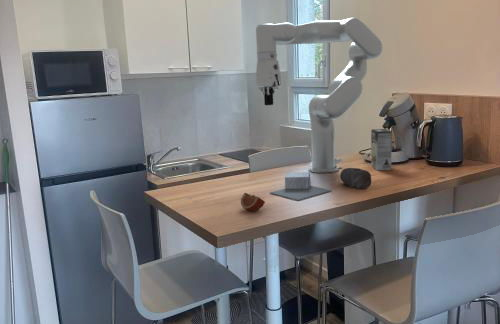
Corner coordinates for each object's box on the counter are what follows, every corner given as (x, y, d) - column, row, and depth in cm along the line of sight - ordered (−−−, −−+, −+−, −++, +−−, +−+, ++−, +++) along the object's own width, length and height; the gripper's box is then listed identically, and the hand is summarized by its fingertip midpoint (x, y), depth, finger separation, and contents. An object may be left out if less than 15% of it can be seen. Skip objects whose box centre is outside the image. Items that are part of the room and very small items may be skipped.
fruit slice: (236, 209, 134) (236, 193, 134) (255, 205, 138) (254, 190, 137) (250, 215, 127) (250, 199, 126) (269, 211, 131) (269, 195, 130)
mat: (302, 184, 160) (302, 183, 160) (331, 191, 149) (331, 190, 149) (270, 193, 150) (270, 192, 150) (298, 201, 140) (298, 199, 139)
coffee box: (370, 166, 186) (370, 129, 183) (385, 165, 186) (385, 128, 183) (376, 170, 177) (376, 131, 174) (392, 169, 177) (392, 130, 174)
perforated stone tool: (335, 183, 160) (335, 165, 159) (347, 181, 162) (347, 163, 161) (360, 192, 146) (360, 172, 145) (372, 190, 148) (373, 170, 147)
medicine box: (285, 189, 154) (309, 189, 152) (284, 177, 153) (309, 176, 151) (287, 183, 161) (310, 183, 160) (286, 172, 160) (310, 172, 159)
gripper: (287, 55, 164) (288, 104, 167) (261, 58, 176) (264, 104, 179) (272, 56, 159) (274, 106, 163) (247, 58, 171) (249, 105, 174)
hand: (268, 104), depth 171 cm, fingers closed
